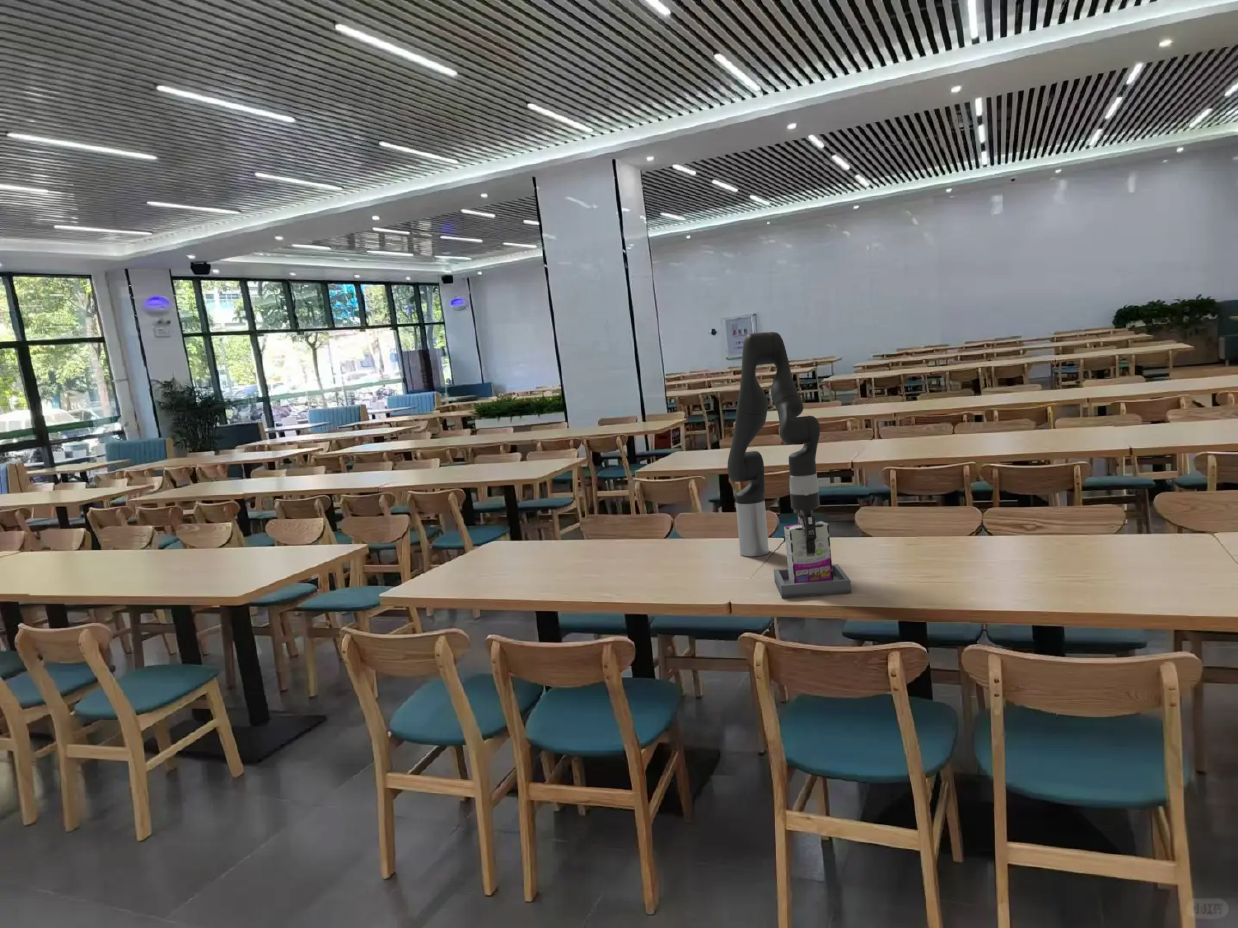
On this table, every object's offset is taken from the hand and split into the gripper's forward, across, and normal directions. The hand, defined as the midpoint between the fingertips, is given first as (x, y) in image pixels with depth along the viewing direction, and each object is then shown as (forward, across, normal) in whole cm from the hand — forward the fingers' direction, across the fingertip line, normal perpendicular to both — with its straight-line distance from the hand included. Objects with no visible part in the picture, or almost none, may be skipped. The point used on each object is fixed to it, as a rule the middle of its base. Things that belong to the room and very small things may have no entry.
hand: (808, 549), depth 216 cm
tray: (+11, 0, 0) cm, 11 cm away
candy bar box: (+10, 0, 0) cm, 10 cm away
